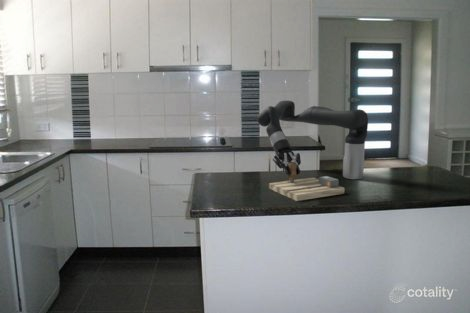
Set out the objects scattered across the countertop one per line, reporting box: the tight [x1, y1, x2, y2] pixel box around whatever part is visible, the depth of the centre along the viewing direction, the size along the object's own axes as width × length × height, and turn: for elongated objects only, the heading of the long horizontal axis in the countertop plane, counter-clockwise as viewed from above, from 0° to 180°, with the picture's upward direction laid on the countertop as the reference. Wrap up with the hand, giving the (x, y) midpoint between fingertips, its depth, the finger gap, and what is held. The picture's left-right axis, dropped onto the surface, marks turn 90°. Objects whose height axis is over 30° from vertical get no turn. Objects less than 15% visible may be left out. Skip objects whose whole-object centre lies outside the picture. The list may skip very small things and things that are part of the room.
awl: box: [286, 162, 297, 183], centre depth 190 cm, size 4×4×11 cm
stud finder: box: [318, 175, 340, 188], centre depth 184 cm, size 8×4×3 cm, turn 26°
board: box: [268, 176, 345, 202], centre depth 184 cm, size 22×24×3 cm
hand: (294, 174), depth 188 cm, fingers closed on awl, 4 cm apart
